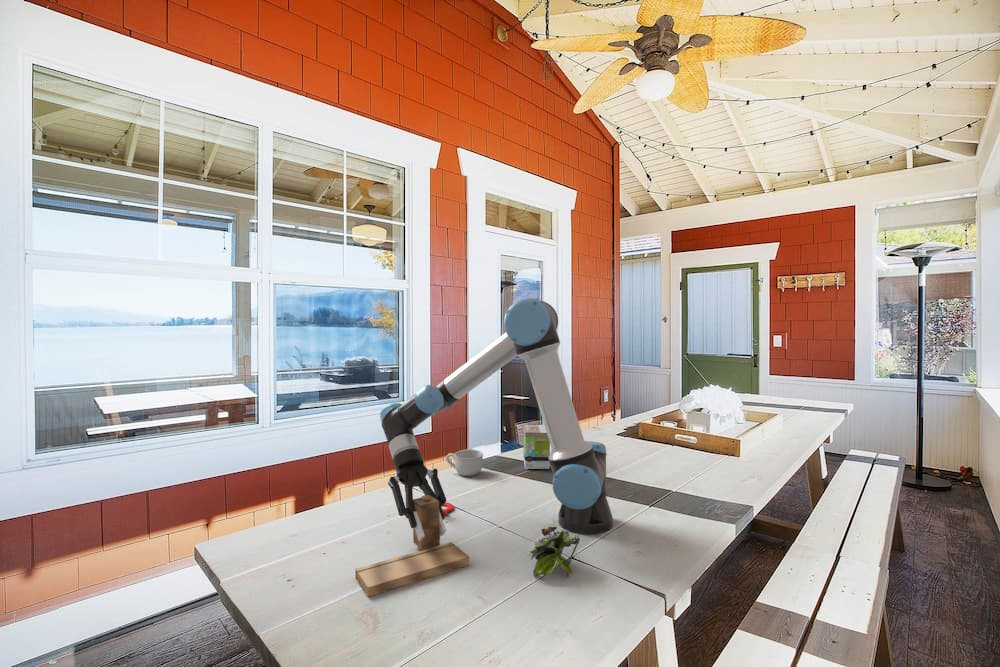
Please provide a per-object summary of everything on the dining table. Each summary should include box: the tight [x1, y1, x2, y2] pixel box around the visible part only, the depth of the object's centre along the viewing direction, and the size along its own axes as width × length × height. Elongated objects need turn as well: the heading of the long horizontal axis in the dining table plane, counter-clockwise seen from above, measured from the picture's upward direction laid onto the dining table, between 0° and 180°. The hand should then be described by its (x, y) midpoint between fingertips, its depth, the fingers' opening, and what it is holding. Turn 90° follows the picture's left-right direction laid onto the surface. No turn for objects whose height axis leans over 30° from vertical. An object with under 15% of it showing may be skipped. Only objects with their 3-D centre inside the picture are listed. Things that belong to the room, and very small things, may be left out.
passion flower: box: [528, 526, 581, 578], centre depth 110 cm, size 11×11×12 cm
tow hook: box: [433, 490, 455, 516], centre depth 148 cm, size 8×13×9 cm
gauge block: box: [412, 494, 441, 551], centre depth 122 cm, size 5×5×12 cm
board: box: [354, 542, 470, 598], centre depth 111 cm, size 24×9×2 cm, turn 123°
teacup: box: [445, 448, 484, 477], centre depth 183 cm, size 14×11×8 cm
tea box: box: [523, 424, 551, 470], centre depth 194 cm, size 15×10×15 cm
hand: (432, 535), depth 119 cm, fingers closed on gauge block, 5 cm apart
